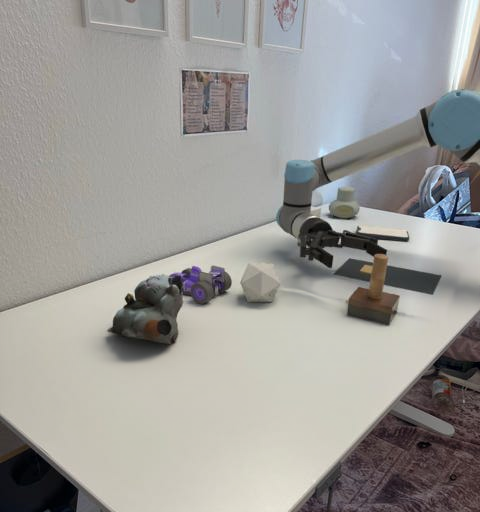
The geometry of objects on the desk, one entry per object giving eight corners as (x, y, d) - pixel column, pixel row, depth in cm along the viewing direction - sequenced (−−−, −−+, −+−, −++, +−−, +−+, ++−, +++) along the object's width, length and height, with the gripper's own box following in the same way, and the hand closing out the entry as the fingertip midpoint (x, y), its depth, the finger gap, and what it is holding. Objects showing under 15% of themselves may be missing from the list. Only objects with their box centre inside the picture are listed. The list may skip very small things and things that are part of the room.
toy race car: (181, 277, 118) (180, 252, 115) (232, 292, 111) (232, 265, 108) (155, 290, 111) (153, 264, 108) (207, 306, 104) (207, 278, 101)
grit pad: (383, 270, 123) (384, 268, 122) (379, 276, 119) (379, 274, 118) (364, 266, 125) (364, 264, 125) (359, 272, 121) (359, 270, 121)
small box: (320, 222, 165) (321, 207, 163) (306, 227, 160) (308, 211, 158) (302, 218, 170) (303, 203, 168) (288, 222, 165) (289, 207, 162)
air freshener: (357, 214, 176) (361, 187, 171) (358, 220, 169) (362, 191, 164) (327, 212, 178) (330, 185, 173) (327, 218, 170) (330, 190, 166)
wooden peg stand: (396, 312, 103) (407, 255, 97) (389, 325, 98) (400, 265, 92) (356, 303, 107) (364, 247, 101) (346, 315, 102) (354, 257, 96)
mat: (440, 279, 121) (441, 275, 121) (432, 298, 110) (432, 294, 110) (348, 261, 131) (349, 258, 131) (332, 277, 120) (332, 274, 120)
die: (266, 314, 102) (292, 274, 102) (231, 292, 102) (256, 252, 101) (263, 310, 111) (286, 274, 110) (230, 290, 110) (253, 253, 109)
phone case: (406, 234, 155) (356, 229, 158) (407, 229, 155) (357, 224, 158) (408, 243, 148) (356, 237, 151) (410, 238, 147) (357, 232, 150)
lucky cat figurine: (100, 329, 93) (118, 260, 93) (158, 340, 99) (174, 275, 99) (120, 342, 80) (140, 262, 80) (185, 355, 86) (204, 280, 86)
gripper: (352, 241, 127) (403, 269, 110) (266, 250, 120) (305, 281, 102) (356, 213, 124) (409, 237, 106) (268, 220, 116) (309, 247, 98)
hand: (358, 259), depth 104 cm, fingers open, 13 cm apart
